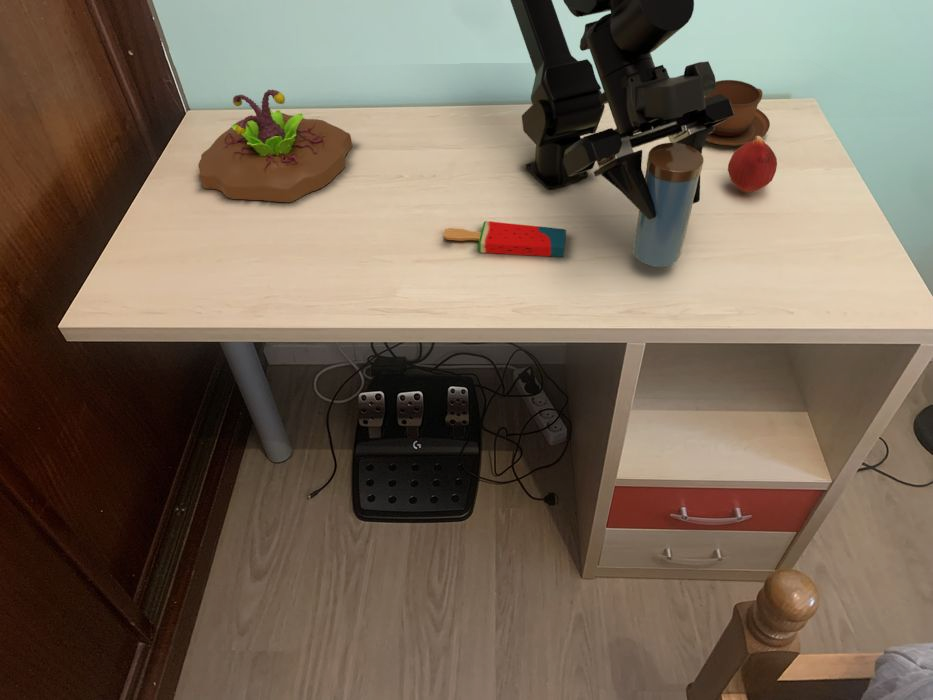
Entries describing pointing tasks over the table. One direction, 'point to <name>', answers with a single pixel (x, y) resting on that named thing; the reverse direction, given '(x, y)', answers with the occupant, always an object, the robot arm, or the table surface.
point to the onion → (752, 166)
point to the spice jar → (667, 203)
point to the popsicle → (514, 239)
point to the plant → (274, 155)
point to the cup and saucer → (739, 114)
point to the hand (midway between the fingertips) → (674, 210)
